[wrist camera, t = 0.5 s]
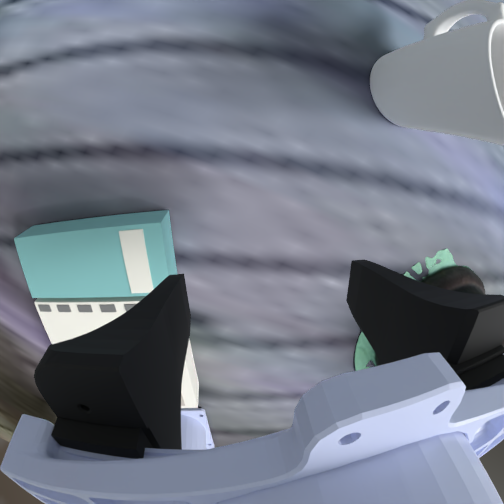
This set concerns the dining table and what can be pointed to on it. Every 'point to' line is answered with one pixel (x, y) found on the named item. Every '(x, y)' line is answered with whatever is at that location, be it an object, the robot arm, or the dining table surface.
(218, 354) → the dining table surface
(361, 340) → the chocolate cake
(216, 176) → the dining table surface
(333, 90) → the dining table surface
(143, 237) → the stub
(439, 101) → the mug
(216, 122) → the dining table surface
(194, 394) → the ticket
